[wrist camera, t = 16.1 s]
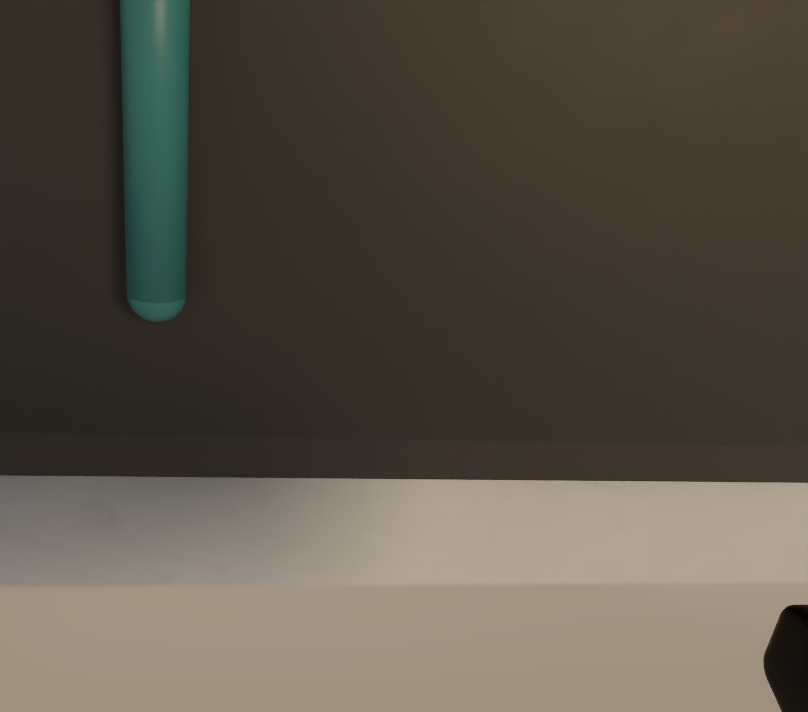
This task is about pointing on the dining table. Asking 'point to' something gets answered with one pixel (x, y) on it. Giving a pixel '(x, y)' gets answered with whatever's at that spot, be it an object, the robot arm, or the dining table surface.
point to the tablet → (418, 244)
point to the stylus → (155, 153)
